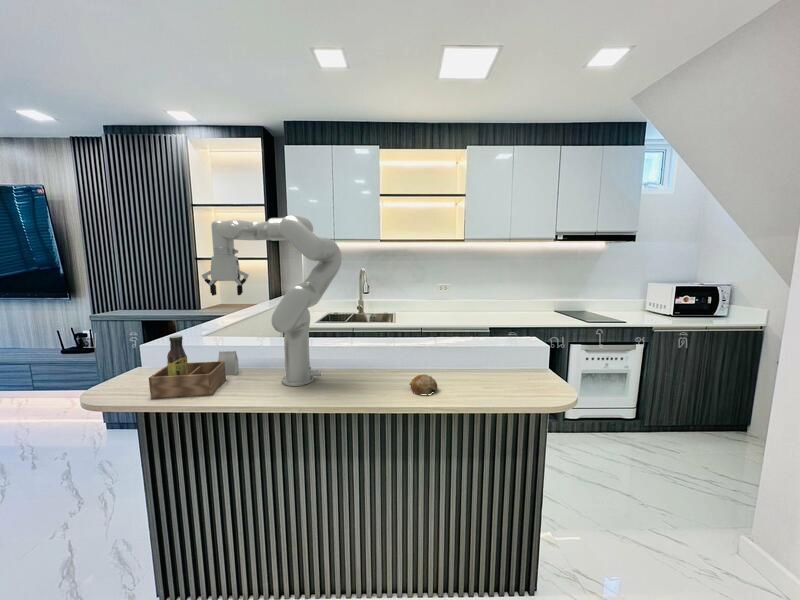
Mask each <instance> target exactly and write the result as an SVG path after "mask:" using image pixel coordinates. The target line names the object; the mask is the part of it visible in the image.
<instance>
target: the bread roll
mask: <svg viewBox="0 0 800 600" xmlns="http://www.w3.org/2000/svg"><path fill="white" fill-rule="evenodd" d="M409 386H410V390H411V389H412V390H411V392H412V391H413V392H412V393H414V392H415V393H418V394H417V395H419V394H431V393H432V392H435V391H436V390H438V383H437V381H436V379H434V378H433V377H432V375H428V374H418V375H416V376H415V377H413V378H411V382H409ZM436 392H437V391H436ZM436 392H435V393H436ZM415 393H414V394H415Z"/></svg>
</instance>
